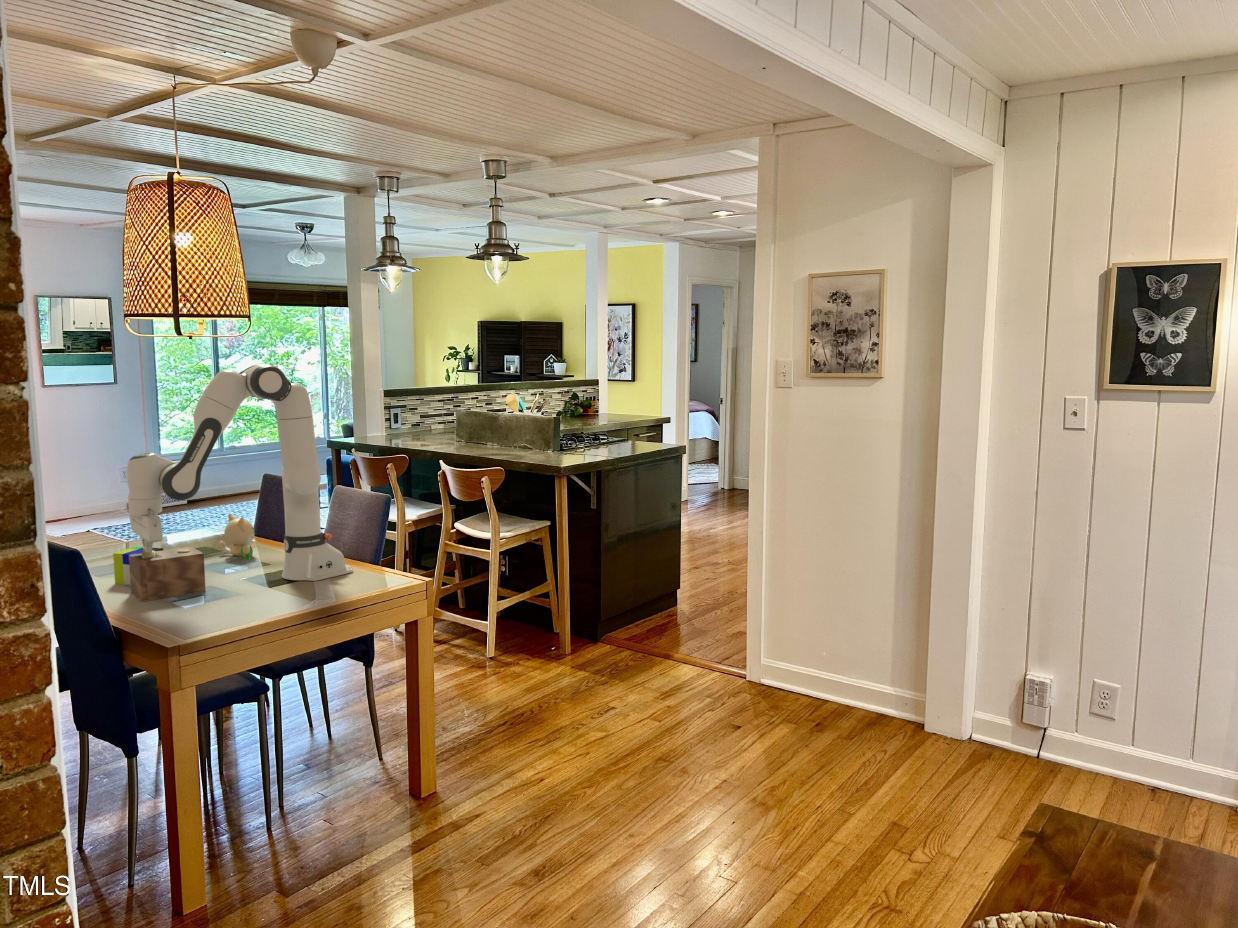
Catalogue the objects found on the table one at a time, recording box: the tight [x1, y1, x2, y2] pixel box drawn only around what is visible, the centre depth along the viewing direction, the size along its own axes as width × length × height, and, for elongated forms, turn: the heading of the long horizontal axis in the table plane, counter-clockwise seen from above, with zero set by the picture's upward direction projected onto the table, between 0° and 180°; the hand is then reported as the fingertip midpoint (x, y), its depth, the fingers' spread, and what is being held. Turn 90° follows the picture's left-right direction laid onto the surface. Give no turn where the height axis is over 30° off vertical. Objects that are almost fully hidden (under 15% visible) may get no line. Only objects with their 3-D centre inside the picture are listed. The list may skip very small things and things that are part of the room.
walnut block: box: [129, 546, 207, 603], centre depth 270 cm, size 18×12×12 cm, turn 132°
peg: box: [142, 551, 155, 559], centre depth 266 cm, size 4×4×12 cm
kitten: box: [218, 513, 256, 560], centre depth 318 cm, size 15×10×15 cm, turn 49°
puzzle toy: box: [112, 546, 164, 586], centre depth 283 cm, size 10×10×10 cm
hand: (147, 551), depth 266 cm, fingers closed, pressing on peg
